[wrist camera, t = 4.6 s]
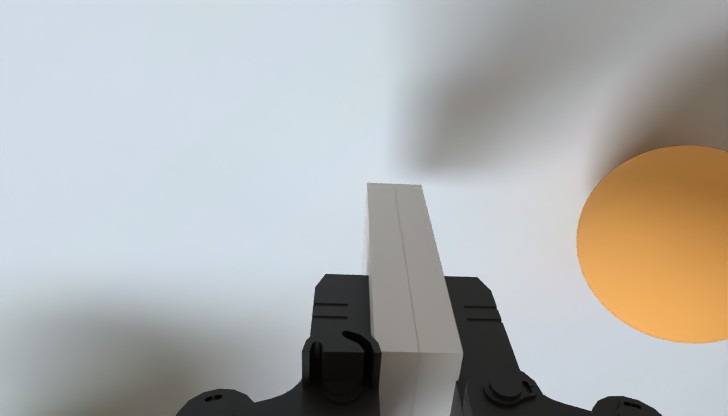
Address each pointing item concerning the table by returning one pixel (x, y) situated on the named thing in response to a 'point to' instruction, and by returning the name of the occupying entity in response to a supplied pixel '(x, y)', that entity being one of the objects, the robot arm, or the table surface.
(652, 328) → the ball
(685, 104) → the table surface
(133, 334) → the table surface
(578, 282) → the table surface
